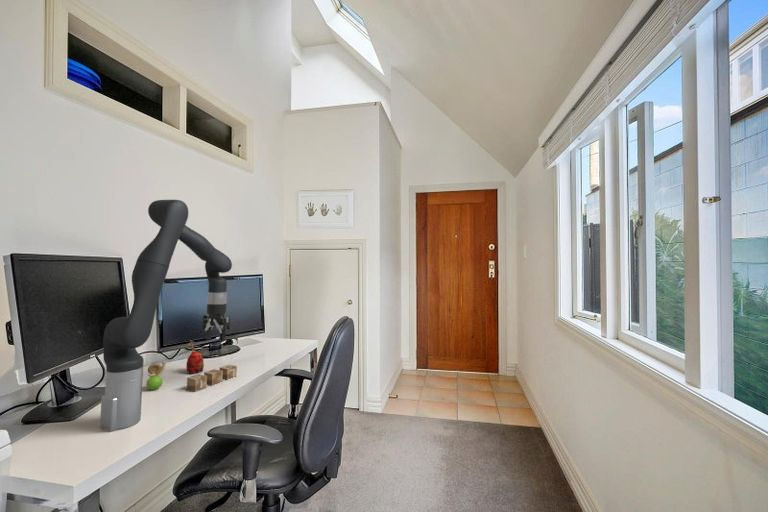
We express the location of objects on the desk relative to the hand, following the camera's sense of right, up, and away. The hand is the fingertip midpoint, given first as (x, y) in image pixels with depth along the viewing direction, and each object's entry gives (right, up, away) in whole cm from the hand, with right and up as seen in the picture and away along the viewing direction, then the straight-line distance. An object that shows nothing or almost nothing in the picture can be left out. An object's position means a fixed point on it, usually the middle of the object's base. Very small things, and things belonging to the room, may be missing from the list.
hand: (215, 340), depth 139 cm
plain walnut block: (-1, -18, -1) cm, 18 cm away
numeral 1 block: (-4, -18, -7) cm, 20 cm away
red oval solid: (-17, -18, +13) cm, 28 cm away
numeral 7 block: (+2, -18, +6) cm, 20 cm away
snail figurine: (-20, -18, -9) cm, 28 cm away
